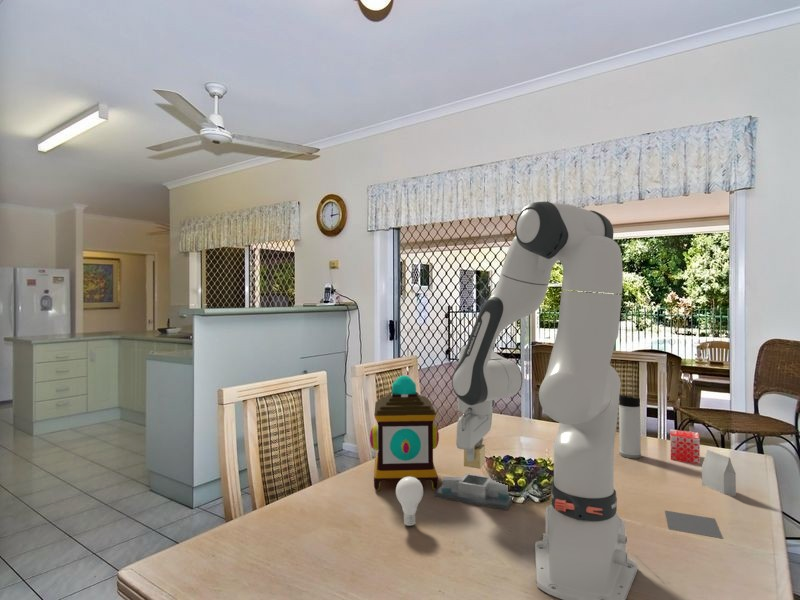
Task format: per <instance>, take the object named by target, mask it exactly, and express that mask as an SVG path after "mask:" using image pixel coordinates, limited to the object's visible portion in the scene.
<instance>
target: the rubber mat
mask: <svg viewBox="0 0 800 600" xmlns="http://www.w3.org/2000/svg"><path fill="white" fill-rule="evenodd" d="M664 514H665V519H666V522H667V528H668V530H672V531H677V532H681V533H683V532H684V533H688V534H694V535H699V536H705V537H711V538H716V539H721V540H723V539H724V537H723V534H722V533H721V530H720V527H719V525H718V524H717V521H716V520H717V519H716V518H713V517H707V516H700V515H696V514H690V513H688V514H687V513H683V512H677V511H670V510H664Z"/></svg>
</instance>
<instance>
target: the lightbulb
mask: <svg viewBox="0 0 800 600" xmlns="http://www.w3.org/2000/svg"><path fill="white" fill-rule="evenodd" d="M423 486H424V485H423V483H422V482H421V480H418V479H417V478H415V477H411V476H408V477H404V478H402V479H401V480H400V481H398V482H397V484H396V487H395V497H396V499H397V501H398V502H399V504H400V505H401V508H402V512H403V524H404V525H405V526H408V527H412V526H414V525H415V524H416V519H417V518H416V514H417V510H418V507H419V504H420V503H421V501H422V499H423V496H424V487H423Z"/></svg>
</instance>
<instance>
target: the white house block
mask: <svg viewBox="0 0 800 600" xmlns="http://www.w3.org/2000/svg"><path fill="white" fill-rule="evenodd" d="M736 475H737V474H736V470H735V469H734V467H733V463H732V461H731V458H730V457H728V456H725V455H723V454H720V453H717V452H714V451H711V450H709V449H707V450H706V454H705V457H704V459H703V462H702V465H701V486H702V487H707V488H709V489H712V490H715V491H716V492H719V493H720V494H722V495H727V496H729V497H736V496H737V479H736V478H737V477H736Z"/></svg>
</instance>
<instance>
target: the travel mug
mask: <svg viewBox="0 0 800 600" xmlns="http://www.w3.org/2000/svg"><path fill="white" fill-rule="evenodd" d="M640 403H641V398H640V397H634V396H631V395H625V394H623V395H622V394H619V407H618V421H619V423H618V424H619V426H618V427H619V430H618V431H619V432H618V433H619V436H618V438H619V441H618V442H619V456H621V457H623V458H627V459H634V460H635V459H640V458H641V455H642V454H641V453H642V452H641V451H642V449H641V448H642V446H641V445H642V444H641V438H642V437H641V436H642V435H641V404H640Z"/></svg>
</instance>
